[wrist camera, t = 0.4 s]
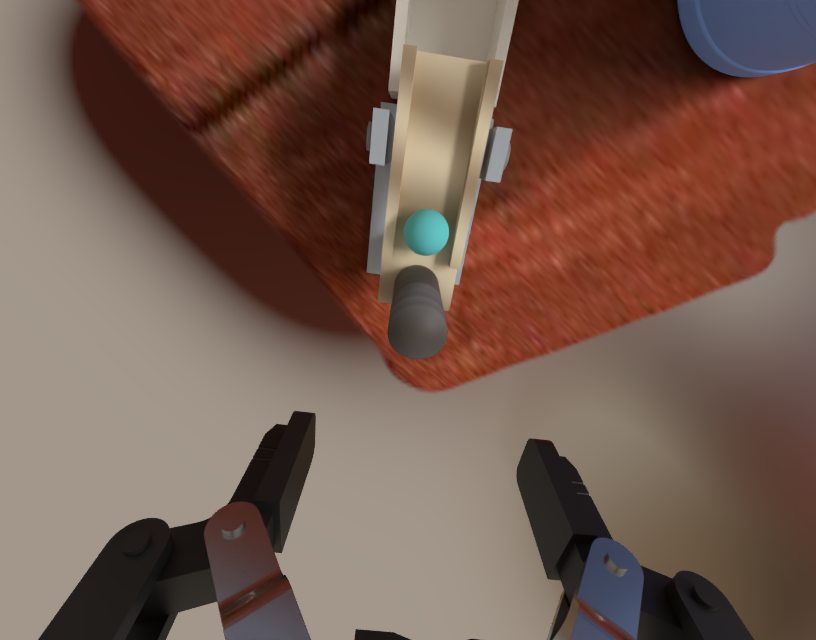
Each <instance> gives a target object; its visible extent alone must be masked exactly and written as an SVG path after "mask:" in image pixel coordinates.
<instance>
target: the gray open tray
mask: <svg viewBox="0 0 816 640" xmlns="http://www.w3.org/2000/svg"><path fill="white" fill-rule="evenodd" d="M518 1H519V0H396V11H395V22H394V33H393V44H392V55H391V66H390V76H389V87H388V91H389V93H390V96H391V98H392V99H397V100H398V92H399V83H400V73H401V63H402V53H403V44H407V45H413V46H417V51H422V52H428V53H434V54H440V55H446V56H452V57H458V58H464V59H470V60H476V61H483V62H488V61H489V60H490V58H491V59H497V60H503V61H504V62H503V67H502V72H501V76H500V81H499V86H498V91H497V95H496V100H495V105H494V108H496V105H497V100H498V95H499V91H500V86H501V81H502V77H503V72H504V67H505V63H506V58H507V53H508V48H509V44H510V39H511V34H512V30H513V25H514V20H515V16H516V11H517V6H518Z"/></svg>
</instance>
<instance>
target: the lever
mask: <svg viewBox="0 0 816 640" xmlns="http://www.w3.org/2000/svg"><path fill="white" fill-rule="evenodd" d="M503 62H504V61H503V60H497V59H491V58H490V60H489V61H488V62H483V61H476V60H470V59H464V58H458V57H452V56H446V55H440V54H434V53H428V52H422V51H417V46H413V45H407V44H403V53H402V63H401V73H400V83H399V92H398V102H397V112H396V121H395V130H394V135H393V144H392V160H391V170H390V179H389V189H388V199H387V208H386V218H385V228H384V237H383V247H382V257H381V259H382V263H381V273H380V283H379V292H378V302H381V303H389V304H391V311H390V318H389V326H388V339H389V342H390V344H391V346H392V347H393V348H394V350H395V351H396V352H398V353H399V354H401V355H402V356H405V357H407V358H411V359H424V358H428V357H431V356H433V355H435V354H436V353H437V352H439V351H440V350H441V349H442V347H443V346H444V344H445V342H446V340H447V335H448V330H447V325H446V319H445V314H444V311H449V308H450V303H451V298H452V293H453V288H454V284H455V279H456V274H457V269H460V266H461V261H462V257H463V252H464V247H465V242H466V238H467V233H468V228H469V223H470V219H471V214H472V209H473V205H474V200H475V195H476V190H477V186H478V181H479V176H480V171H481V167H482V162H483V157H484V152H485V148H486V143H487V138H488V133H489V129H490V124H491V119H492V114H493V110H494V105H495V100H496V95H497V91H498V86H499V81H500V76H501V72H502V67H503ZM422 209H431V210H434V211H437V212H438V213H440V214H441V215H442V216H443V217H444V218H445V220H446V221H447V224H448V227H449V237H448V240H447V243H446V245H445V246H444V247H443V249H442V250H440V251H439V252H438V253H436V254H433V255H429V256H423V255H419V254H416V253H415V252H413V251H412V250H411V249H410V248H409V247H408V246H407V244H406V242H405V239H404V226H405V224H406V222H407V220H408V218H409V217H410V216H411V215H412V214H413V213H415V212H417V211H419V210H422Z"/></svg>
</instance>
